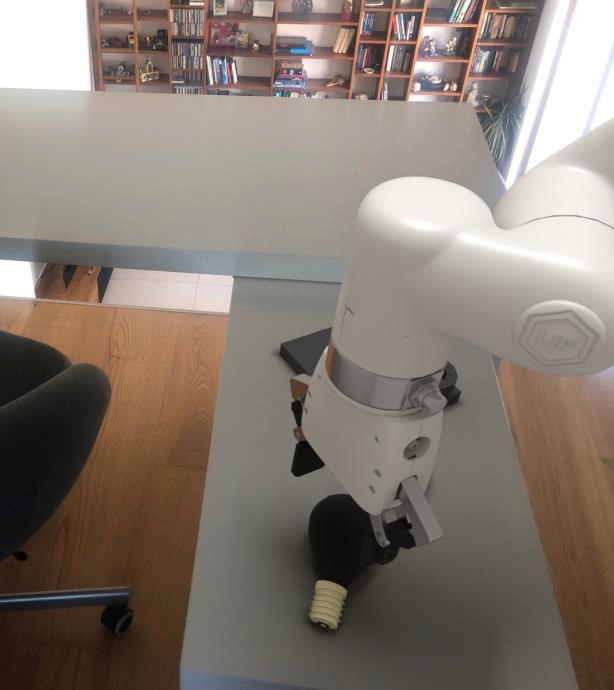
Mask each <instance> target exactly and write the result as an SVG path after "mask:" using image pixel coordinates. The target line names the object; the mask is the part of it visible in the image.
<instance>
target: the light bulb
mask: <svg viewBox="0 0 614 690" xmlns="http://www.w3.org/2000/svg"><path fill="white" fill-rule="evenodd" d="M373 531H374V530H373V526H372V523H371V519H370V515H369V513H368V512H366V511H365V510H364V509H362V508H361V507H360V506H359V505H358V504H357V502H356V501H355V500H354V499H353V498H352V497H351V495H350V494H349V493H335V494H330V495H328V496H326V497H324V498H323V499H321V500H319V501H318V502H317V503H316V504H315V505H314V507H313V508H312V510H311V513H310V515H309V520H308V525H307V537H308V543H309V549H310V551H311V552H310V553H311V557H312V561H313V564H314V568H315V573H316V578H317V581H316V583H315V587H314V594H313V595H312V599H313V600H312V601H311V605H310V607H309V610H310V611H309V612H308V617H309V618H310V621H312V622H313V623H315V624H317V625H319V626H320V627H322V628H326V629H332V630H335V629H337V628H338V623H341V622H342V620H341V619H340V617H343V614H342V612H341V611H344V607H343V606H345V605H346V604H345V602H344V600H346V599H347V594H348V591H347V590H348V589H349V588H350V586H351V585H352V584H353V583H354V582H355V581H356V580H357V579H358V578H359V577H360V576H361V575H362V574H363V572H364V571H366V569H367V568H365V569H364V568H363V567H362V566H361V565H360V563H359V557H360V554H361V552H362V549H363V546H364V543H365V540H366V537H367V535H368V534H369V533H370V532H373Z"/></svg>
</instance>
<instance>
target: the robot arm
mask: <svg viewBox="0 0 614 690" xmlns="http://www.w3.org/2000/svg"><path fill="white" fill-rule="evenodd" d="M345 262H346V263H345V265H344V271H343V275H342V279H341V280H342V281H341V284H340V289H339V295H338V299H337V304H336V309H335V313H334V317H333V322H332V326H331V327H332V331H331V336H330V341H329V345H328V346H327V348H326V349H325V350H324V352H323V354H322V356H321V358H320V360H319V362H318V364H317V366H316V368H315V371H314V373H313V376H312V377H311V376H308V375H306V374H301V375H298V374H297V375H295V376H291V377H290V379H289V386H290V393H291V398H292V399H293V401H291V404H290V406H291V407H290V410H291V412H292V415H293V417H294V421H295V424H296V426H295V427H294V428H293V429H292V434H293V437H294V439H295V441H297V443H295V448H294V453H293V458H292V463H291V467H290V473H291V474H292V475H293V477H296V478H301V477H303V476H305V475H308V474H311V473H313V472H317V471H319V470H321V469H323V468H324V467H325V466H326V467H327V468H328V469H329V471H330V472H331V473H332V474H333V476H334V477H335V478H336V479H337V481H338V482H339V484H341V485H342V487H343V488H344V489H345V491H346V492H347V494H350V495H351V497H352V498H353V499H354V500H355V501H356V502H357V504H358V505H359V506H360V507H361V508H362V509H364V510H365V511H366V512H368V513H369V515H370V519H371V523H372V526H373V530H374V531H373V532H370V533H369V534H368V535H367V537H366V540H365V543H364V546H363V549H362V552H361V554H360V557H359V563H360V565H361V566H362V567H363V568H364V569H365V568H366V569H367V568H370V567H372V566H374V565H376V564H378V565H379V566H380V567H383V566H386V565H388V564H390V563H392V562H394V561H395V559H396V558H397V556H398V554H399V553H400V550H401V549H404V550H410V549H413V548H419V547H422V546H427V545H429V544H432V543H434V542H436V541H438V540H441V539H442V538H444V535H445V533H444V531H443V528H442V526H441V524H440V523H439V520H438V519H437V516H436V515H435V512H434V511H433V509H432V506H431V505H430V503H429V501H428V498H427V497H426V495H425V493H426V490H427V488H428V485H429V482H430V479H431V477H432V474H433V471H434V468H435V467H434V466H435V463H436V459H437V456H438V453H439V447H440V444H441V443H440V442H441V438H442V431H443V420H444V408H446V407H447V406H446V404H447V399H446V398H445V397H444V396H443V395H442V394H441V391H440V389H439V384H440V382H441V379H442V376H443V374H444V370H445V367H446V364H447V362H448V361H449V359H450V356H451V353H452V351H453V347H454V345H455V342H456V340H457V339H458V340H460V341H463V342H465V343H466V344H468V345H471V346H474V347H476V348H477V349H480V350H482V351H484V352H486V353H488V354H490V355H492V356H495V357H496V358H499V359H500V360H503V361H505V362H508V363H511V364H514V365H515V366H517V367H520V368H523V369H526V370H530V371H532V372H536V373H539V374H544V375H548V376H555V377H564V378H565V377H568V378H569V377H573V378H574V377H586V376H590V375H594V374H597V373H601V372H604V371H606V370H609V369H610V368H613V367H614V116H613V117H611V118H609V119H608V120H606V121H605V122H603V123H601V124H600V125H598V126H595V128H592V130H590V131H588V132H587V133H585V134H583V135H582V136H580V137H579V138H576V139H575V140H574V141H572V142H570V143H568V144H567V145H565V146H563V147H562V148H561V149H558V151H556V152H554V153H553V154H551V155H550V156H548V157H546V158H545V159H543V160H542V161H540V162H539V163H538V164H536V165H534V166H533V167H532V168H530V169H529V170H528V171H527V172H525V173H524V174H522V176H520V177H519V178H518V179H516V181H515V182H514V183H513V184H512V185H511V186H510V187H509V188H508V189H506V191H505V192H504V194H503V195H502V196H501V198H500V199H499V200H498V202H497V203H496V205H495V207H494V209H493V211H491V208H490V207H489V205H487V203H486V202H485V201H484V200H483V199H482V198H481V197H480V196H479V195H478V194H477V193H475V192H473V191H472V190H470V189H469V188H466V187H464V186H462V185H460V184H457V183H455V182H452V181H448V180H444V179H441V178H435V177H429V176H403V177H397V178H393V179H389V180H387V181H384V182H381V183H379V184H378V185H377V186H375V187H373V188H372V189H371V190H370V191H368V193H367V194H365V196H364V198H363V199H362V201H361V203H360V204H359V207H358V209H357V211H356V216H355V219H354V225H353V229H352V233H351V238H350V243H349V247H348V252H347V256H346V261H345ZM445 406H446V407H445ZM392 509H394V512H395V515H396V519H395V520H393V521H390V522H387V518H386V514H385V513H386V512H388V511H390V510H392ZM366 569H365V570H366Z"/></svg>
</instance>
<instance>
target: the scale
mask: <svg viewBox="0 0 614 690" xmlns="http://www.w3.org/2000/svg"><path fill="white" fill-rule="evenodd" d="M332 327H333V326H330V327H327V328H323V329H320V330H318V331H314V332H312V333H308V334H306V335H303V336H302V335H301V336H299V337H296V338H292V339H289V340H287V341H284V342H281V343H280V345H279V346H280V347H279V355H280V356H281V357H282V358H283V360H285V361H286V362H287V364H288V365H289V366H290V367H291V368H292V369H293V370H294V372H295V373H296V374H297V376H298V375H301V374H306V375H308V376H311V377H312V376H313V373H314V371H315V368H316V366H317V364H318V362H319V360H320V358H321V356H322V354H323V352H324V350H325V349H326V348H327V346H328V345H329V341H330V336H331V331H332ZM458 378H459V374H458V372H457V369H456V366H454V365H453V364H452V363H451V362H450V361H449V360H448V362H447V366H446V369H445V372H444V374H443V377H442V379H441V382H440V384H439V389H440V391H441V394H442V395H443V396H444V397H445V398H446V399H447V404H446V406H445V407H444V408H446V407H448V406H451V405H453V404H456V403H459V399H460V397H461V394H462V391H461V390H460V389H459V388H458V387H457V386H456V384H457V381H458Z"/></svg>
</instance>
